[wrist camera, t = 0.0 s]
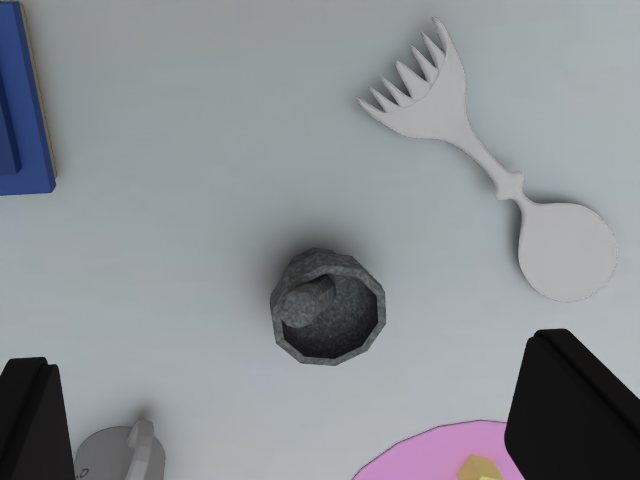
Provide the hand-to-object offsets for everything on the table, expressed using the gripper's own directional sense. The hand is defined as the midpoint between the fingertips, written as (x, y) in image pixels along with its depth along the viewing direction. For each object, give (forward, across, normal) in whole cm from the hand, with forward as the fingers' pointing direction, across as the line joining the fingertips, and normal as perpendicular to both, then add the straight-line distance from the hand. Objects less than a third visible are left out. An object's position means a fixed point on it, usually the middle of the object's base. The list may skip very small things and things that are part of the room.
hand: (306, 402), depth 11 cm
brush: (+37, +16, +1) cm, 41 cm away
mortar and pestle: (+38, -7, +17) cm, 42 cm away
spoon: (+38, -24, +8) cm, 45 cm away
